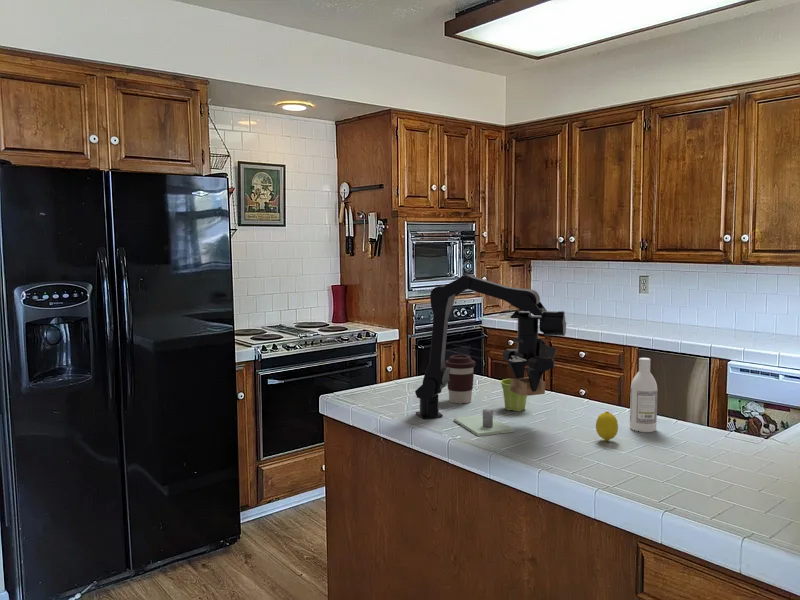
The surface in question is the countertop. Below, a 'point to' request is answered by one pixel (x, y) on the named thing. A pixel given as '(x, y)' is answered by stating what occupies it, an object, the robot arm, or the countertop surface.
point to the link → (526, 387)
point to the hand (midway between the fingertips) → (527, 388)
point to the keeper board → (478, 425)
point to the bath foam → (643, 399)
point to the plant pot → (512, 397)
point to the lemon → (606, 426)
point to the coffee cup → (460, 378)
